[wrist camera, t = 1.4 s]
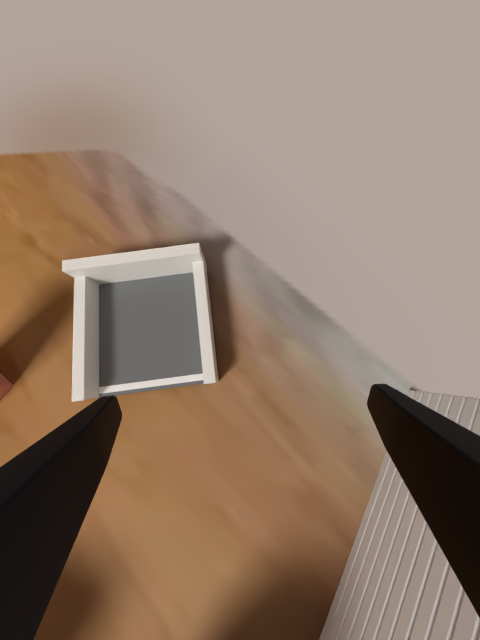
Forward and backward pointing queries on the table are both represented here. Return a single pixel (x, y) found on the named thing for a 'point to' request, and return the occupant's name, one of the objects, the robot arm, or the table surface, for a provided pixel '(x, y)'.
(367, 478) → the table surface
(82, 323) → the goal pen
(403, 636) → the ridged white long block
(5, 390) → the foosball player
